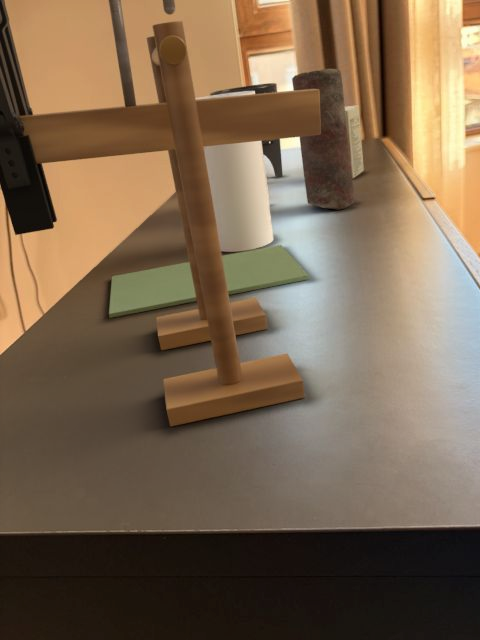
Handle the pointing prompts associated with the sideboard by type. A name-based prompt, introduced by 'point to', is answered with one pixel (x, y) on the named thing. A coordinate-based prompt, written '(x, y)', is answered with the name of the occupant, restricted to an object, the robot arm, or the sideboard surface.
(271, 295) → the sideboard surface
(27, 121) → the hanger
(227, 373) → the rail stand
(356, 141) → the cosmetic box
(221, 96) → the container
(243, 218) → the cup
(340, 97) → the candle
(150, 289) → the mat
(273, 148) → the planter
